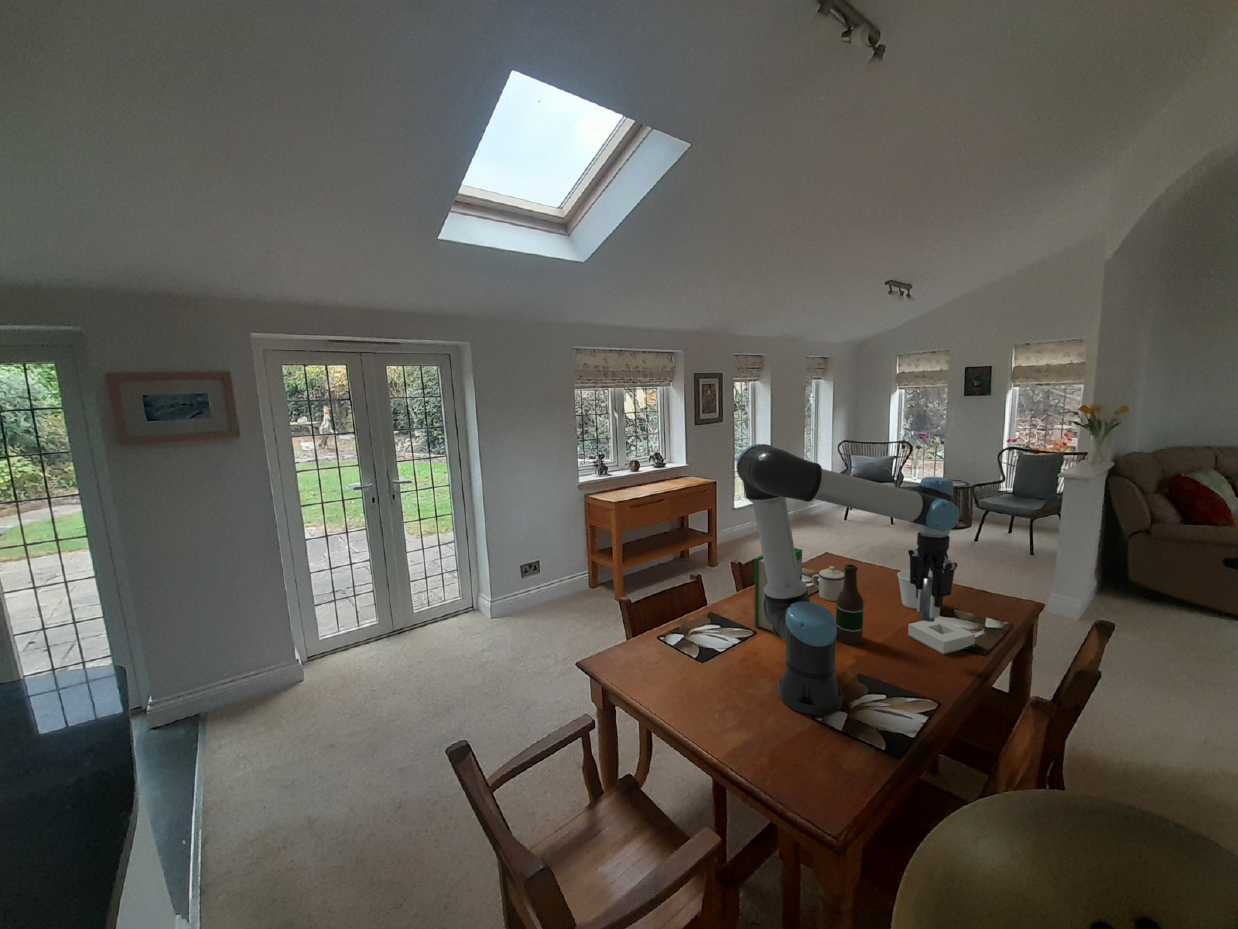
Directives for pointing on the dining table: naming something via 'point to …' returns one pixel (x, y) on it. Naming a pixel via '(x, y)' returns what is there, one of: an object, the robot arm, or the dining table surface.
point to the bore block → (941, 635)
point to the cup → (907, 590)
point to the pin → (927, 598)
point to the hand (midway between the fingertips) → (927, 613)
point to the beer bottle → (849, 610)
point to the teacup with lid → (829, 583)
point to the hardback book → (759, 589)
